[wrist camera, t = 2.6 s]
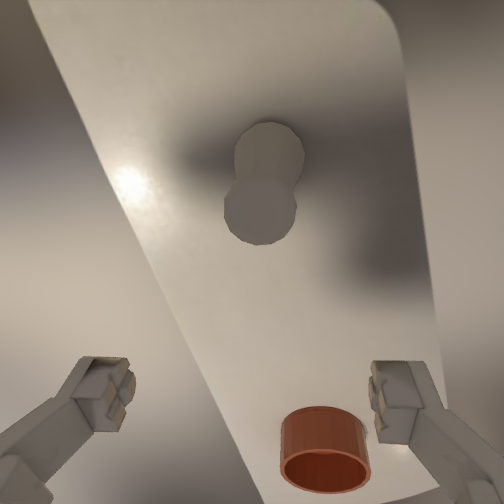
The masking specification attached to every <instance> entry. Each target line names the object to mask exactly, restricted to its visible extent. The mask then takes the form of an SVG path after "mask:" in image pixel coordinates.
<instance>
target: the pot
mask: <svg viewBox="0 0 504 504" xmlns="http://www.w3.org/2000/svg"><path fill="white" fill-rule="evenodd" d="M280 472H281V475H282V476H283V478H284V479H285V480H286V481H287V482H289V483H290V484H292V485H293V486H295V487H297V488H300V489H302V490H305V491H310V492H314V493H322V494H338V493H346V492H350V491H354V490H356V489H358V488H360V487H362V486H364V485H365V484H366V483H367V482H368V481H369V480H370V476H371V468H370V462H369V457H368V451H367V445H366V439H365V434H364V431H363V426H362V424H361V423H360V421H359V420H358V419H357V418H356V417H354V416H353V415H351V414H350V413H348V412H346V411H343V410H340V409H336V408H331V407H309V408H304V409H300V410H298V411H295V412H293V413H291V414H290V415H289V416H287V417H286V418H285V420H284V421H283V423H282V429H281V451H280Z"/></svg>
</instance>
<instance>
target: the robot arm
mask: <svg viewBox="0 0 504 504" xmlns="http://www.w3.org/2000/svg"><path fill="white" fill-rule="evenodd" d="M129 366H130V364H129V361H128V359H127V358H118V357H117V358H116V357H90V356H84V357H82V358H81V359H79V361H78V362H77V364H76V365H75V367H74V368H73V370H72V371H71V373H70V375H69V376H68V378H67V379H66V381H65V383H64V384H63V385H62V387H61V389H60V390H59V392H58V393H57V395H56V396H55V398H50V399H48V400H47V401H45V402H44V403H43V404H41V405H40V406H38V407H37V408H36V409H34V410H33V411H31V412H30V413H29V414H27V415H26V416H25V417H23V418H22V419H20V420H19V421H18V422H16V423H15V424H13V425H12V426H11V427H9V428H8V429H6V430H5V431H4V432H2V433H1V434H0V504H51V503H52V500H53V494H52V493H51V492H50V491H49V489H48V488H47V487H46V486H45V483H46V482H47V481H48V480H49V479H50V478H51V477H52V476H53V475H54V473H56V471H58V469H60V468H61V466H62V465H63V464H64V463H65V462H66V461H67V460H68V459H69V458H70V457H71V456H72V455H73V454H74V453H75V452H76V451H77V450H78V449H79V448H80V447H81V446H82V445H83V444H84V443H85V442H86V441H87V440H88V439H89V438H90V437H91V436H92V435H93V434H94V432H119V429H120V427H121V425H122V422H123V420H124V418H125V415H126V410H125V406H126V405H127V404H129V403H130V402H131V401H132V399H133V396H134V394H135V388H136V378H135V375H134V373H133V372H131V371H130V370H129V369H128V368H129ZM371 372H372V376H371V377H369V384H368V386H369V399H370V404H371V408H372V409H373V410H374V411H375V413H376V414H375V420H374V423H375V428H376V432H377V437H378V441H379V443H386V444H400V445H409V446H408V447H409V448H410V449H411V450H412V452H413V453H414V454H415V455H416V457H417V458H418V459H419V460H420V462H421V463H422V464H423V465H424V466H425V468H426V469H427V470H428V471H429V473H430V474H431V475H432V476H433V478H434V479H435V480H436V481H437V483H438V484H439V485H440V486H441V487H442V489H443V490H444V491H445V492H446V493H447V495H448V496H449V497H450V499H451V500H452V501H453V502H454V504H504V456H502V455H501V454H500V453H499V452H498V451H497V450H496V449H495V448H493V447H492V446H491V445H490V444H489V443H488V442H487V441H485V440H484V439H483V438H482V437H481V436H479V435H478V434H477V433H476V432H475V431H474V430H473V429H472V428H470V427H469V426H468V425H467V424H466V423H465V422H463V421H462V420H461V419H460V418H459V417H458V416H457V415H456V414H454V413H453V412H452V411H451V410H448V409H444V407H443V404H442V402H441V399H440V397H439V395H438V392H437V390H436V387H435V385H434V382H433V380H432V378H431V375H430V373H429V370H428V368H427V366H426V364H425V363H424V362H423V361H372V363H371Z"/></svg>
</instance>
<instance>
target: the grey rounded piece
mask: <svg viewBox="0 0 504 504" xmlns="http://www.w3.org/2000/svg"><path fill="white" fill-rule="evenodd" d="M304 160H305V152H304V149H303V146H302V143H301V140H300V139H299V138H298V137H297V136H296V135H295V133H294V132H293V131H292V130H291V129H290V128H289V127H287V126H284V125H281V124H278V123H275V122H267V123H258V124H255V125H254V126H253V127H251V128H250V129H249V130H247V131H246V132H244V133H243V134H242V136H241V137H240V139H239V141H238V143H237V144H236V146H235V150H234V167H235V174H236V181H235V182H234V184H233V185H232V187H231V189H230V190H229V192H228V194H227V195H226V197H225V202H224V219H225V221H226V223H227V225H228V227H229V230H230V232H232V233H233V234H234V235H235V236H237V237H238V238H239V239H240V240H241V241H244V242H247V243H250V244H253V245H267V244H272V243H274V242H276V241H278V240H280V239H282V238H284V237H285V236H286V234H287V233H288V232H289V230H290V229H291V227H292V226H293V224H294V220H295V215H296V209H297V205H296V201H295V198H294V195H293V192H292V190H293V188H294V186H295V184H296V182H297V180H298V178H299V177H300V175H301V173H302V171H303V165H304Z"/></svg>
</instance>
